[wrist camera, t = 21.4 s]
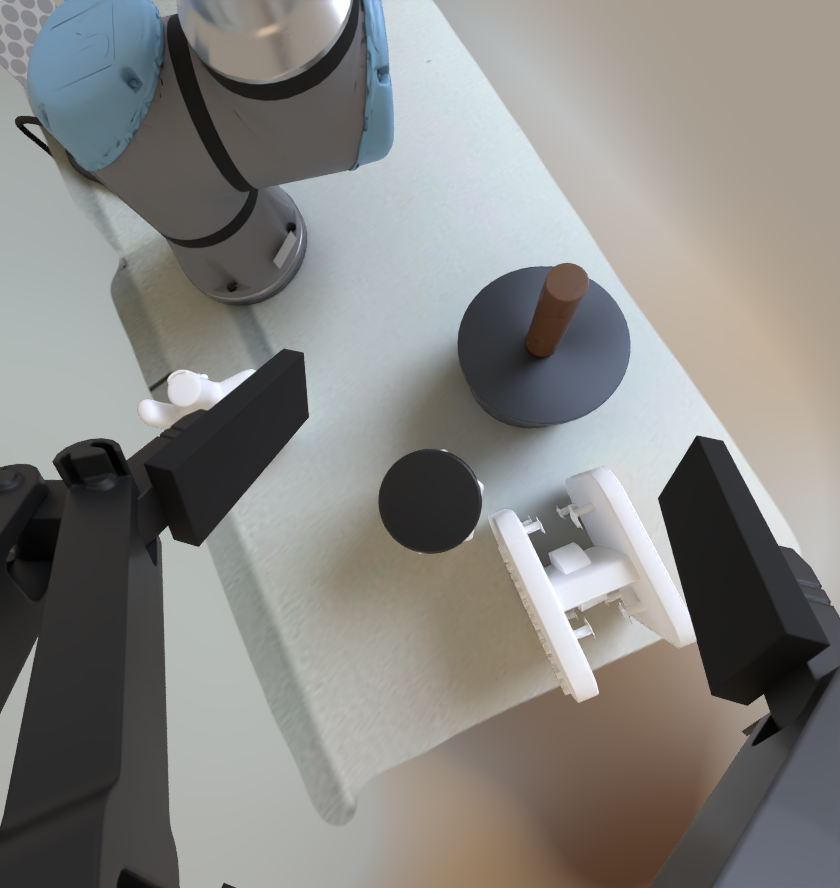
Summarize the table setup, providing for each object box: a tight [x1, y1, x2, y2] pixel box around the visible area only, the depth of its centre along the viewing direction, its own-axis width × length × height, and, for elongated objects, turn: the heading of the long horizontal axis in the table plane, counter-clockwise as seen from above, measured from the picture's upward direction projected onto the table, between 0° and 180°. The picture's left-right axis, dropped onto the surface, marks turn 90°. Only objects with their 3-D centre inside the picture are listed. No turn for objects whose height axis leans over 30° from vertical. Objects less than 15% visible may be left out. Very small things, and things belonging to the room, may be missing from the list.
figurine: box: [137, 369, 256, 430], centre depth 41 cm, size 7×9×15 cm
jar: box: [379, 449, 484, 554], centre depth 39 cm, size 9×8×12 cm
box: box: [0, 0, 57, 90], centre depth 45 cm, size 8×8×25 cm
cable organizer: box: [488, 467, 697, 703], centre depth 37 cm, size 15×11×12 cm
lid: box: [458, 263, 630, 425], centre depth 33 cm, size 14×14×10 cm
